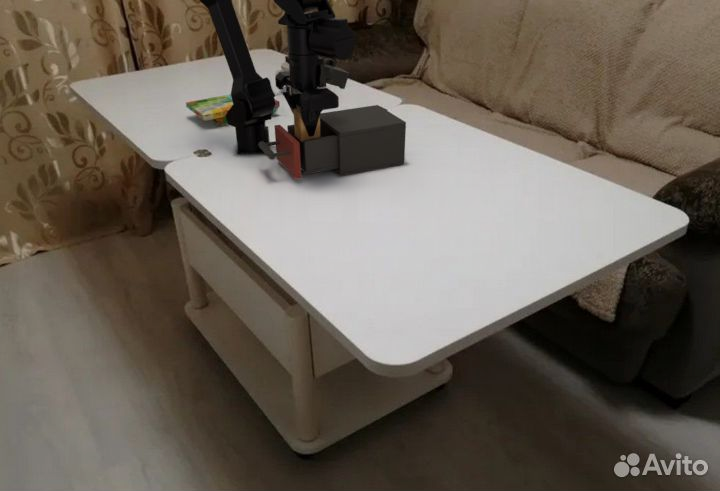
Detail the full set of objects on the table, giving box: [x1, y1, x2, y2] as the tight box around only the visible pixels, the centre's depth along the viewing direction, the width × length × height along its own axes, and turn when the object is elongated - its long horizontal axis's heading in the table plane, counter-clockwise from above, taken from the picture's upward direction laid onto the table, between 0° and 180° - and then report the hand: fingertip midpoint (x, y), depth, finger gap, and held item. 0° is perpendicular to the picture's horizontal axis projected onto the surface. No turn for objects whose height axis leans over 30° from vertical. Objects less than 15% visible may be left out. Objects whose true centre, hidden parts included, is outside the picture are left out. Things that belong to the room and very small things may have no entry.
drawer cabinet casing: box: [320, 104, 407, 177], centre depth 124 cm, size 15×13×9 cm
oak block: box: [293, 108, 321, 142], centre depth 117 cm, size 4×4×6 cm
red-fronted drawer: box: [258, 122, 339, 180], centre depth 119 cm, size 18×11×7 cm, turn 115°
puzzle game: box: [185, 93, 281, 127], centre depth 149 cm, size 12×5×20 cm
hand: (307, 132), depth 118 cm, fingers closed on oak block, 4 cm apart
